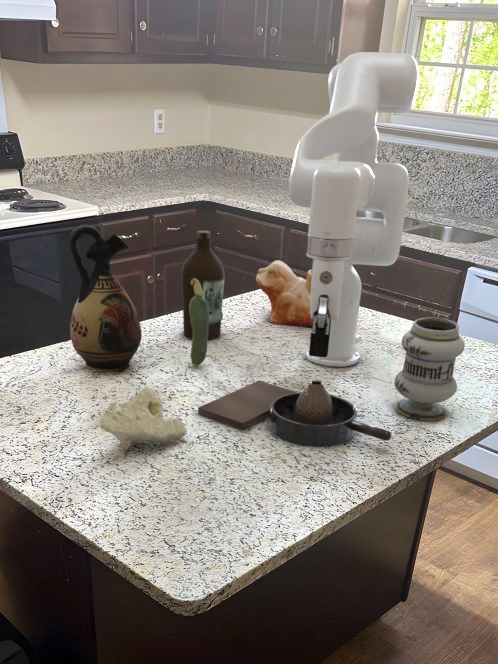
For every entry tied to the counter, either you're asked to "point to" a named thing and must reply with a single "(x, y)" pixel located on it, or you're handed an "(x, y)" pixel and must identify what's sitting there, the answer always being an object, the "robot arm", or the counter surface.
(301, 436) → the pan
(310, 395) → the vase
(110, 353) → the ceramic jug
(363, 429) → the pan handle
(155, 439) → the cream coral rock
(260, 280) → the ceramic vessel
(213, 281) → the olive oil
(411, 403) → the apothecary jar
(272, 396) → the board
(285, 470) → the counter surface
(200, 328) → the vegetable
